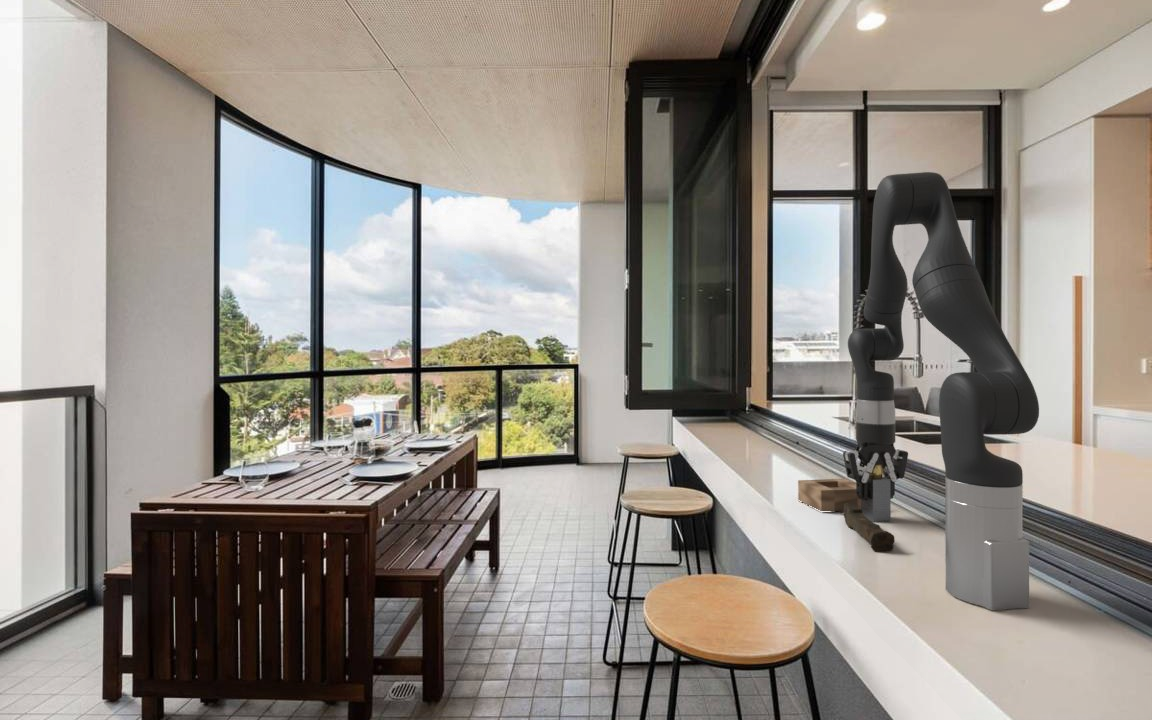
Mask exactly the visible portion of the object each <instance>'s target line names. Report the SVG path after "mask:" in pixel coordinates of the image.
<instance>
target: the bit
mask: <svg viewBox="0 0 1152 720" xmlns="http://www.w3.org/2000/svg"><path fill="white" fill-rule="evenodd" d="M866 483H867V495H868V498H867V500H862V499H861V510H862V514H863V515H864V516H865V517H866V518H868V519H869V520H870V521H872V522H873V523H880V522H881V523H882V522H891V514H892V513H891V508H892V507H891V499H890V479H888V478H885V477H884V476H883V473H882V465H876V466H875V468H873V470H872V473H870V474H869V477H868V479H867V482H866Z"/></svg>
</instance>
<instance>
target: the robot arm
mask: <svg viewBox="0 0 1152 720" xmlns="http://www.w3.org/2000/svg"><path fill="white" fill-rule="evenodd" d="M953 202H954V201H953V200H952V195H951V192H950V189H949V186H948V183H947V182H946V180H945V178H944V177H943V176H942V175H941V174H940V173H937V172H931V171H923V172H912V173H911V172H910V173H895V174H889V175H886V176H885V177H883V178H882V179H881V180H880V182H879V183H878V185H877V188H876V191H875V195H874V199H873V207H872V208H873V209H872V225H871V226H872V227H871V245H870V246H871V249H870V250H871V251H870V252H871V253H870V274H869V280H868V287H867V291H866V296H865V302H864V308H863V317H864V319H865V320H866V321H868V322H870V323H873V324H875V325H879V326H884V327H883V328H881V327H879V328H878V327H877V328H857V329H855V330H853V331H852V332H851V333H850V334H849V336H848V340H847V348H848V352H849V356H850V358H851V359H850V360H851V362H852V365H853V369H854V372H855V377H856V391H857V392H856V395H857V397H856V407H855V441H856V443H857V444H856V448H855V450H851V451H846V450H845V451H843V452H842V457H843V461H844V466H845V473H846V476H847V478H849V479H852V480H854V482H855V483H856V494H857V496H858V497H859V498H860V499H862V500H867V498H868V495H867V483H866V482H867V479H868V477H869V474H870V473H872V470H873V468H875V466H876V465H882V477H885V478H888V479H890V499H894V496H895V494H896V486H895V485H896V481H897V480H899V479H900V480H901V479H904V477H905V475H906V474H905V473H906V469H907V464H908V458H909V452H908V451H906V450H903V449H896V447H895V445H894V444H895V443H896V406H895V389H894V388H895V381H894V380H895V379H894V376H893V375H892V374H891V373H889V372H884V371H879V370H876V369H875V370H874V369H873V367H872V366H871V364H870V362H880V361H881V362H887V361H889V362H891V361H894V360H897V359H898V358H900V356H901V355H902V354H903V351H904V347H905V346H904V345H905V344H904V337H903V327H902V325H903V324H902V321H903V320H902V317H903V316H902V315H903V309H904V305H905V302H906V301H905V300H906V298H907V297H906V296H907V293H908V283H909V282H908V278H907V274H906V271H905V269H904V267H903V265H902V263H901V261H900V259H899V257H898V254H897V253H896V250H895V246H894V241H893V239H894V238H893V237H894V231H895V226H903V225H904V226H905V225H908V226H909V225H922V226H923V227H924V229H925V230H926V233H927V239H928V240H927V244H926V246H925V248H924V250H923V252H922V254H921V256H920V258H919V259H918V261H917V264H916V266H915V268H914V270H913V274H912V280H911V281H912V283H911V284H912V287H913V290H914V293H915V296H916V300H917V302H918V305H919V309H920V311H921V313H922V315H923V316H924V318H925V319H926V320H927V321H928V322H929V323H930V324H931V325H932V326H933V327H934V328H935V329H936V330H938V331H939V332H940V333H941V334H943V336H945V338H947V339H948V340H950V341H951V342H952V343H954V344H955V345H956V346H957V347H958V348H960V350H962V352H964V353H965V354H966V356H967V357H968V358H969V359H970V362H971V363H972V364H973V366H974V368H975V369H976V371H973V372H972V371H970V372H969V371H968V372H967V371H966V372H965V371H964V372H953V373H951V374H949V375H948V376H947V377H946V378H945V379H944V380H943V382H942V385H941V387H940V390H939V391H940V392H939V397H938V398H939V400H938V408H939V409H938V411H939V413H938V414H939V424H940V425H939V426H940V442H941V455H942V459H943V464H944V471H945V473H944V475H945V479H944V480H945V482H944V483H945V490H944V491H945V498H944V499H945V503H944V504H945V506H944V507H945V513H944V514H945V516H944V517H945V518H944V519H945V521H944V522H945V523H944V526H945V531H944V532H945V533H944V534H945V536H944V537H945V538H944V539H945V540H944V543H945V544H944V545H945V553H944V555H945V559H944V560H945V563H944V564H945V590H946V592H948V593H949V594H950V595H951V596H953V597H955V598H957V599H959V600H961V601H963V602H966V603H970V604H972V605H975V606H976V605H977V606H980V607H983V608H985V609H987V610H990V611H998V610H1000V611H1001V610H1012V609H1013V610H1014V609H1027V608H1030V542H1029V541H1028V540H1027V539H1025V538H1023V502H1024V501H1023V495H1024V494H1023V492H1024V491H1023V487H1024V486H1023V482H1024V481H1023V476H1024V475H1023V469H1022V466H1021V465H1020V464H1019V463H1018V462H1016V461H1013V460H1011V459H1008V458H1004V457H1002V456H999V455H996V454H994V453H992V452H991V451H989V450H988V448H987V446H986V443H985V436H986V435H991V436H992V435H993V436H994V435H997V436H998V435H1002V436H1004V435H1021V434H1025V433H1028V432H1031V430H1032V431H1033V429H1034V428H1035V427H1036V425H1037V424H1038V421H1039V417H1040V405H1039V398H1038V396H1037V395H1038V394H1037V392H1036V389H1035V387H1034V384H1033V382H1032V381H1031V378H1030V377H1029V375H1028V373H1027V371H1026V369H1025V368H1024V366H1023V364H1022V363H1021V361H1020V359H1019V358H1018V355H1017V354H1016V352H1015V351H1014V349H1013V347H1012V346H1011V344H1010V341H1009V340H1008V338H1007V336H1006V334H1005V333H1004V331H1003V328H1002V326H1001V325H1000V322H999V320H998V318H997V315H996V314H995V312H994V309H993V306H992V304H991V302H990V299H989V296H988V294H987V292H986V289H985V286H984V283H983V281H982V278H981V276H980V273H979V271H978V269H977V267H976V265H975V263H974V260H973V259H972V255H971V254H970V252H969V249H968V247H967V243H966V241H965V239H964V237H963V234H962V231H961V228H960V225H959V222H958V218H957V215H956V210H955V207H954V204H953ZM858 459H859V461H858ZM892 459H893V462H892ZM857 461H858V463H857Z"/></svg>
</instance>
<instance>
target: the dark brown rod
mask: <svg viewBox="0 0 1152 720" xmlns="http://www.w3.org/2000/svg"><path fill="white" fill-rule="evenodd" d="M843 516H844V517H843V518H844V522H845V525H846V526H847V527H848V529H849V528H850V530H854V531H855V532H856V533H857V534H859V535H860V536H861V537H862V538H863V539H864V540H865V541H867V542H868V544H870V548H871V549H872V551H873V552H877V553H888V552H889V553H890V552H891V551H893V549H894V544H895V536H894V534H892V533H891V532H889V531H887V530H885V529H883V528H881V525H879V524H876V522H872V521H870V520H869V519H868V518H866V517H865V516H864V515H863V514H862V510H861V509H860V508H858V506H856V505H854V504H852V503H846V504H844V512H843Z"/></svg>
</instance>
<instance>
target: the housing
mask: <svg viewBox="0 0 1152 720" xmlns="http://www.w3.org/2000/svg"><path fill="white" fill-rule="evenodd" d="M797 484H798V491H797V492H798V495H797V496H798V498H797V499H798V500H800V501H802V502H804V503H805V504H807V505H810V506H812V507H814V508H816V509H818V510H820V511H844V504H846V503H852V504H854V505H856V506H858V508H860V509H861V499H860V498H859V497H858V496H857V494H856V481H851V480H849V479H846V478H828V479H827V478H825V479H824V478H823V479H803V480H800V479H799V480H798V481H797ZM800 501H799V502H800ZM802 502H801V503H802ZM805 504H804V505H805ZM807 505H806V506H807Z"/></svg>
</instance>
